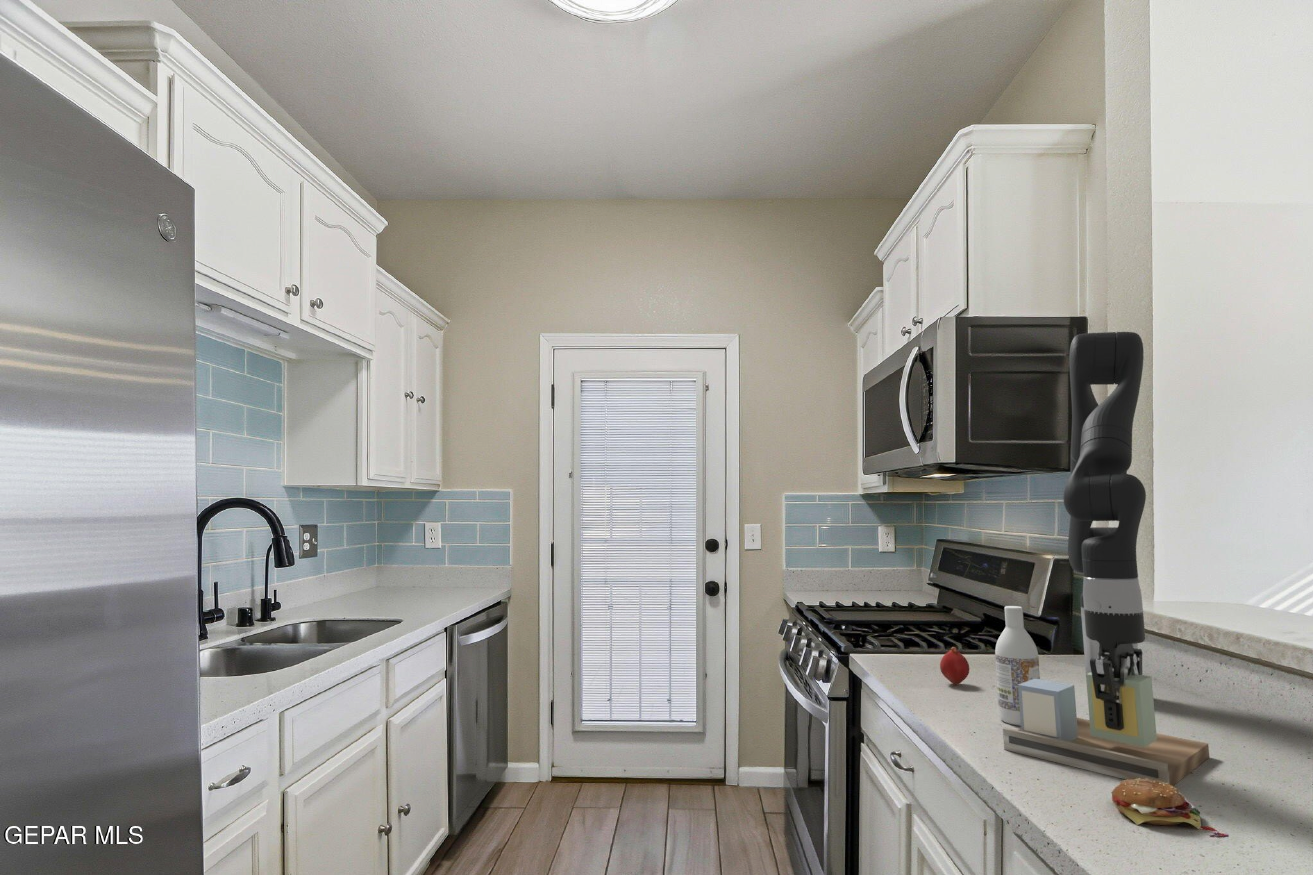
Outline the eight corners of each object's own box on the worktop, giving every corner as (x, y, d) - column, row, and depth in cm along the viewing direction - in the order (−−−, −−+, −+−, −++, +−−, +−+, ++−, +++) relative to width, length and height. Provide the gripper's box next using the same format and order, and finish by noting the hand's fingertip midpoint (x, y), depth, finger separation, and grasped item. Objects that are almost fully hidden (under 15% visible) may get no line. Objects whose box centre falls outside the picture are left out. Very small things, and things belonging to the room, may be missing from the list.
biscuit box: (1038, 728, 118) (1034, 678, 118) (1078, 737, 113) (1074, 684, 114) (1020, 737, 114) (1017, 684, 115) (1061, 746, 109) (1057, 691, 110)
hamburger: (1130, 844, 83) (1125, 789, 84) (1087, 796, 97) (1084, 750, 97) (1272, 855, 80) (1266, 798, 81) (1207, 804, 94) (1203, 756, 94)
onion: (938, 681, 158) (936, 644, 159) (965, 681, 157) (963, 644, 158) (945, 688, 152) (942, 649, 153) (973, 688, 152) (971, 649, 152)
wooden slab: (1055, 724, 126) (1054, 706, 126) (1209, 757, 109) (1207, 735, 109) (1003, 749, 114) (1001, 728, 114) (1167, 790, 97) (1165, 765, 97)
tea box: (1103, 729, 111) (1099, 668, 112) (1157, 739, 105) (1151, 676, 106) (1090, 736, 108) (1085, 674, 108) (1144, 747, 102) (1138, 682, 103)
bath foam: (1029, 729, 124) (1021, 610, 126) (991, 720, 130) (984, 606, 131) (1050, 722, 128) (1042, 607, 130) (1013, 713, 133) (1006, 603, 135)
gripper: (1123, 615, 101) (1133, 741, 99) (1158, 605, 110) (1168, 720, 108) (1066, 610, 107) (1074, 729, 105) (1103, 601, 116) (1112, 710, 114)
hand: (1122, 724), depth 107 cm, fingers closed on tea box, 5 cm apart
